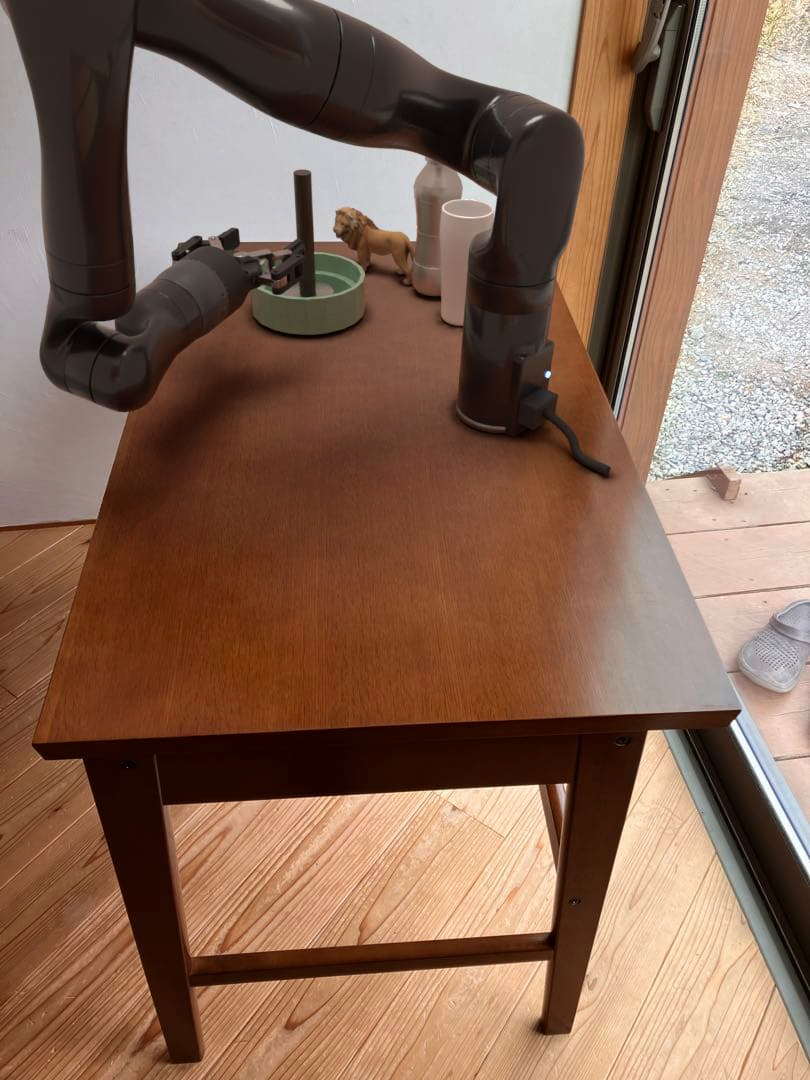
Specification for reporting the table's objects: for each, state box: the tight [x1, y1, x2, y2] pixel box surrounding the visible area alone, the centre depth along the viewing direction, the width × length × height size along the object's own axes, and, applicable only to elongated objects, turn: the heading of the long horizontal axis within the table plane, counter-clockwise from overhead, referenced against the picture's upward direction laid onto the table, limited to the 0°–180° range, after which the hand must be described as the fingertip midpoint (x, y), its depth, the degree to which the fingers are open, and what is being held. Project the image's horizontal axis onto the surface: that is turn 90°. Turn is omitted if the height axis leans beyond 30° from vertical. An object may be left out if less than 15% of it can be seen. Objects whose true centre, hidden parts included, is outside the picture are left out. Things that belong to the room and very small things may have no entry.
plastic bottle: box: [411, 156, 464, 297], centre depth 120 cm, size 6×7×20 cm
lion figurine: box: [332, 206, 415, 286], centre depth 128 cm, size 15×5×9 cm, turn 70°
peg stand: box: [282, 169, 334, 297], centre depth 115 cm, size 7×7×18 cm
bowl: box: [249, 251, 366, 336], centre depth 119 cm, size 15×15×6 cm
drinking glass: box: [440, 198, 495, 327], centre depth 116 cm, size 7×7×15 cm
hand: (268, 241), depth 105 cm, fingers open, 8 cm apart
